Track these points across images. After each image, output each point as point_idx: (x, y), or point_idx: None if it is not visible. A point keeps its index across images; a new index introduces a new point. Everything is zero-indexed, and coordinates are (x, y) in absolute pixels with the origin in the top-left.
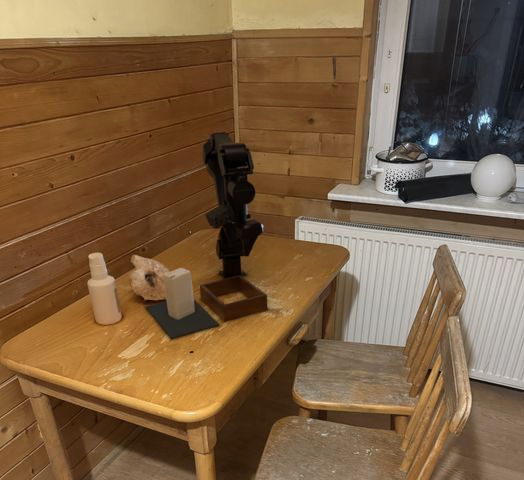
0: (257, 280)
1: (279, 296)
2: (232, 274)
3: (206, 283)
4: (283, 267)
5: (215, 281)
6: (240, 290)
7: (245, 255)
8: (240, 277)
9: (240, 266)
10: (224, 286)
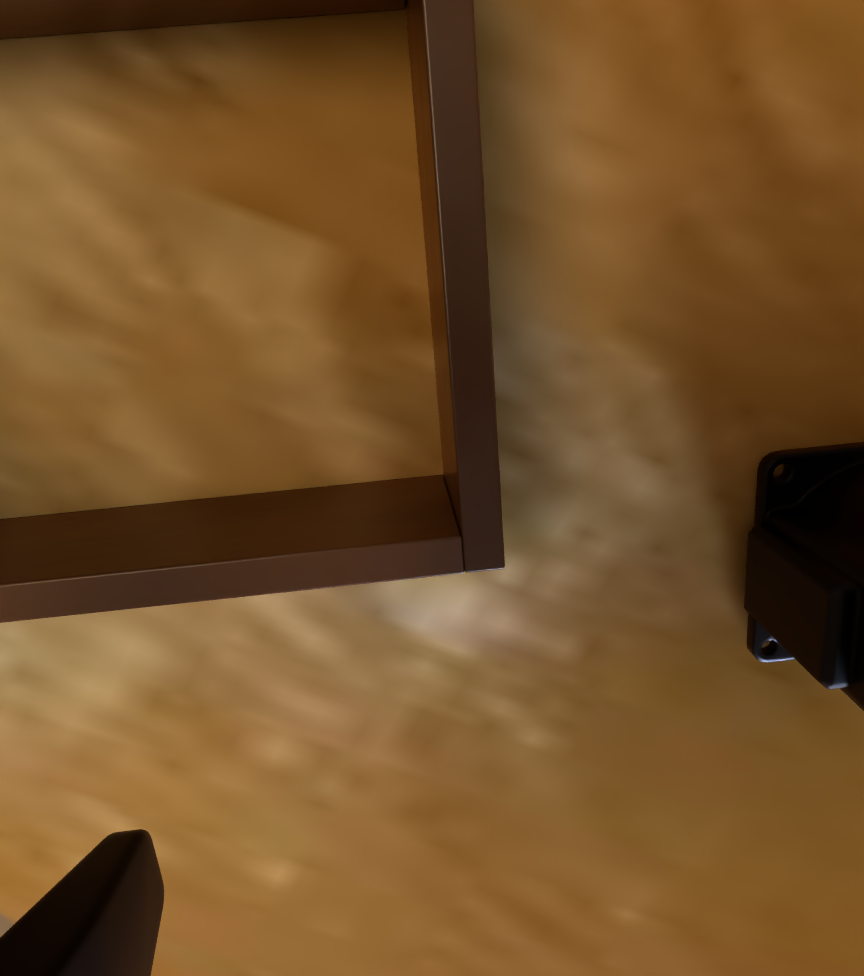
0: (583, 703)
1: (157, 751)
2: (782, 529)
3: (456, 1)
4: (707, 964)
5: (461, 173)
6: (425, 479)
7: (93, 860)
8: (424, 543)
9: (798, 659)
10: (436, 303)
